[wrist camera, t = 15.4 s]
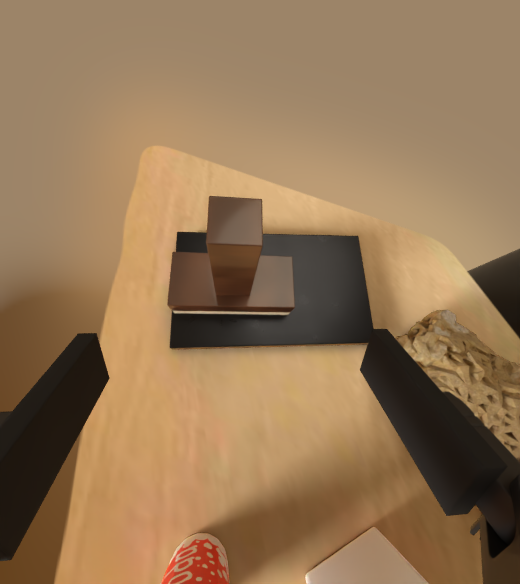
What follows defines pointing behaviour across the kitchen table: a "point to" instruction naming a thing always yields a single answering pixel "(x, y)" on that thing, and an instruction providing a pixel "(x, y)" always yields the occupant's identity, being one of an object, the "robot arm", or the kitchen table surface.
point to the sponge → (469, 373)
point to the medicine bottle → (366, 564)
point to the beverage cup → (198, 562)
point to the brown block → (232, 267)
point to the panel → (307, 291)
